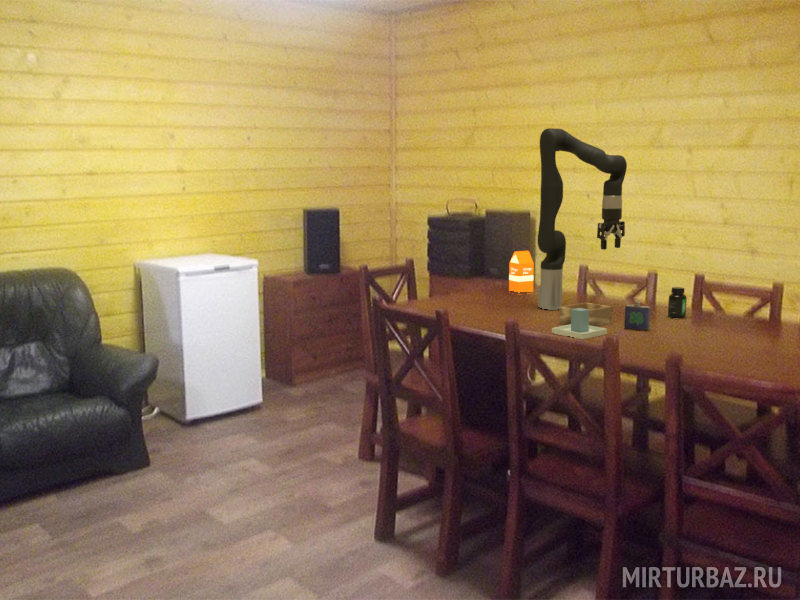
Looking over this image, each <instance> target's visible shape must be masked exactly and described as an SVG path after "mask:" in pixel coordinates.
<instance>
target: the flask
mask: <svg viewBox="0 0 800 600" xmlns="http://www.w3.org/2000/svg"><path fill="white" fill-rule="evenodd" d="M623 323H624V325H623V326H624V327H623V329H624V330H628V329H630V330H631V331H640V330H645V331H644V332H649V331H650V329H651V328H650V325H651V324H650V323H651V306H646V305H645V306H643V305H641V301H635V304H631V303H629V304H626V305H625V307H624V322H623ZM648 330H649V331H648Z"/></svg>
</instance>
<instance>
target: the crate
mask: <svg viewBox="0 0 800 600" xmlns="http://www.w3.org/2000/svg"><path fill="white" fill-rule="evenodd" d="M576 308H583V309H589V325H590V326H595V327H601V326H604V324H605V325H608V324H612V314H613V313H612V311H613V310H612V309H613V307H612V305H611V306H610V305H604V304H598V303H591V302H580V303H576V304H569V305H564V306H563V305H562V307H560V309H559V324H560V323H561V325H565V324H566V325H569V324H571V309H576Z"/></svg>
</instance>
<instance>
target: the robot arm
mask: <svg viewBox="0 0 800 600" xmlns="http://www.w3.org/2000/svg"><path fill="white" fill-rule="evenodd" d="M539 137H540V138H539V152H540V154H539V155H540V173H541V174H540V210H539V225H538V232H537V245H538V249H539V250H540V252H541V253H543V254H545V255H546V256H545V257H544V259H543V260H542V261H541V262H540V276H539V277H540V279H539V283H540V285H538V287H537V289H538V290H537V308H538V307H540V308H542V309H541V310H544V309H548V310H547V311H558V309H559V310H560V307H563V305H562V304H563V303H562V302H563V274H564V273H563V270H564V269H563V267H564V263H565V262H566V261H565V260H566V250H567V249H566V248H567V242H566V240H567V239H566V236H565V235H564V233H563V232H562V231H561V230H558V229H556V228H555V227H556V219H557V215H558V213H559V211H560V208H561V207H562V206H561V205H562V203H563V200H564V182H563V179H562V176H561V174H560V172H559V169H558V166H557V161H556V160H557V159H556V156H557V155H556V152H566V153H570V154H572V155H574V156H576V157H577V158H578V160H580V161H582V162H584V163H586V164H588V165H590V166H593V167H594V168H596V169H597V170H598V171H600V172H602V173H604V174H608V175H609V178H608V179H607V180H605V181H604V182H603V187H602V188H603V192H602V193H603V194H602V195H603V196H602V203H601V219H602V220H603V222H598V223H597V229H596V230H597V232H596V233H597V234H596V238H597V239H599V240H600V249H601V250H604V251H605V250H607V247H608V244H607V243H608V240H607V239H608V237H610V235H611V234H612V235H613V236H614V248H616V249H620V248H621V242H622V240H621V239H622V237H625V235H626V227H625V226H626V222H625V221H623V220H622V216H623V215H622V214H623V213H622V212H623V196H622V195H623V184H624V181H625V176H626V173H627V168H628V167H627V166H628V165H627V159H626V158H625V157H624V156H623V155H619V154H617V155H615V154H613V155H610V154H608V153H606V152H605V151H604V150H603V149H601V148H600V147H596V146H595V145H591V144H589V143H587V142H584V141H582V140H581V139H578V138H576V137H575V136H574V135H572V134H571V133H569V132H568V131H566V130H564V129H562V128H545V129H543V131H542V132H541V133H540V136H539ZM540 308H539V309H540Z"/></svg>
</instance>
